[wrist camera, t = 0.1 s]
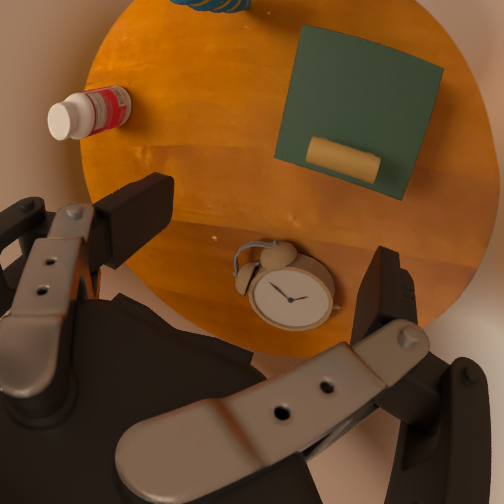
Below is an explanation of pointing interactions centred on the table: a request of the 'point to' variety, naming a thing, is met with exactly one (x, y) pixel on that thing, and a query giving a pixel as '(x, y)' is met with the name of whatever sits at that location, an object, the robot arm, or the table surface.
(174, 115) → the table surface
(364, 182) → the lid
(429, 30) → the table surface
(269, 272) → the alarm clock
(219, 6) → the ornament
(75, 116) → the pill bottle
